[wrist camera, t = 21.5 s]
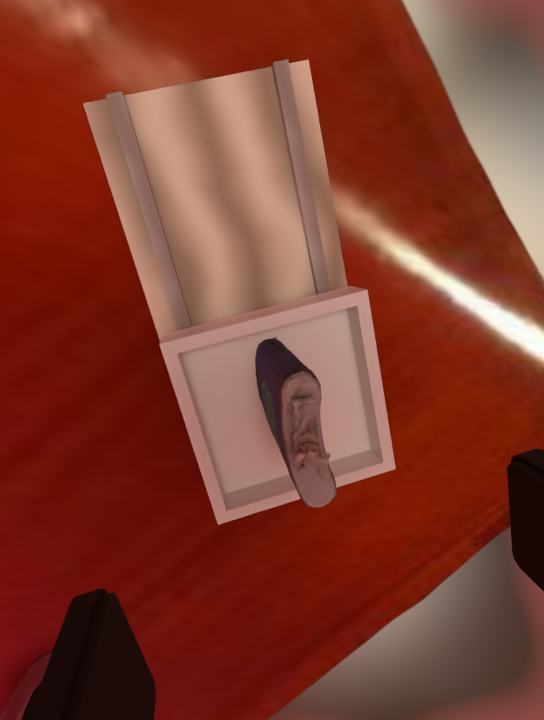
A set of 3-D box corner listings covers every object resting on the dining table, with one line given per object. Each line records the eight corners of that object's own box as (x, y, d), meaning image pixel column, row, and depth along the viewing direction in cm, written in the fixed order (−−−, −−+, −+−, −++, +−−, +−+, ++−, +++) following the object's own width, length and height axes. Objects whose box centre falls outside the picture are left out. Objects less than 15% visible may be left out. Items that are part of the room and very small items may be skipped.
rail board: (205, 473, 41) (205, 485, 39) (88, 110, 31) (80, 99, 29) (366, 425, 43) (375, 434, 41) (303, 68, 33) (311, 55, 31)
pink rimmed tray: (215, 484, 39) (217, 524, 33) (166, 328, 34) (159, 344, 28) (367, 438, 40) (395, 468, 35) (340, 284, 36) (367, 289, 30)
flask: (305, 440, 35) (351, 523, 24) (270, 449, 35) (302, 537, 24) (284, 333, 32) (327, 372, 21) (247, 341, 32) (270, 386, 21)
